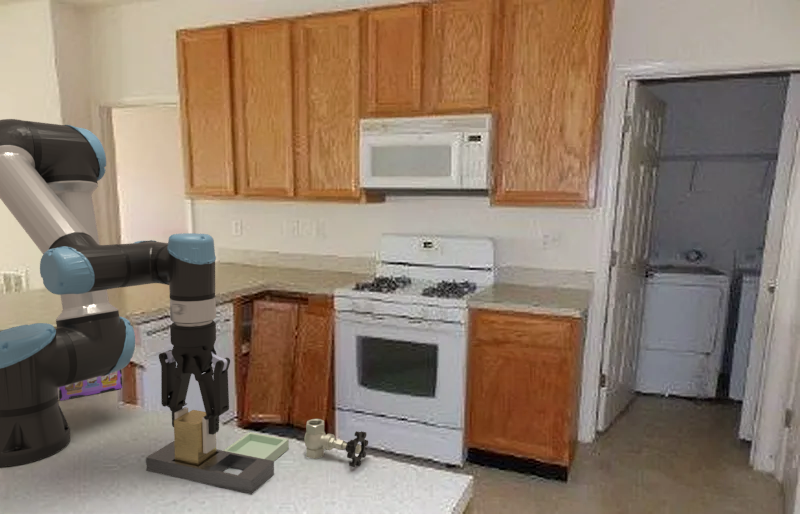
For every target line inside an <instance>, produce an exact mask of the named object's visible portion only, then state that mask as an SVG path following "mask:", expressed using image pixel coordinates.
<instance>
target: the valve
mask: <svg viewBox="0 0 800 514" xmlns="http://www.w3.org/2000/svg"><path fill="white" fill-rule="evenodd" d="M305 427H306V430H305V434H304V439H303V440H304V444H305V447H306V448H305V449H306V451H305V452H306V455H305V456H306V458H310V459H313V460H317V459H319V458H323V457H324V455H325V450H326V451H332V450H333V449H334V448H335V449H337V450H342V451H344V450H345V451H346V458H347V459H351V461H348V466H349V467H353V468H355V467H360V466H361V465H362V458H366V456H367V452H366V447H368V445H369V440H368V439H366V437H367V432H366V431H362V430H361V431H355V432H354V437H355V438H353V439H350V440H348V441H347V442H346V440H343V439H339V438H338V439H337V438H336V436H335V435H334V433H333V434H332V433H327V434H326V431H325V420H323V419H321V418H312V419H308V420H307V421H306V425H305ZM359 442H360V444H359ZM356 454H358V455H356Z"/></svg>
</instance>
